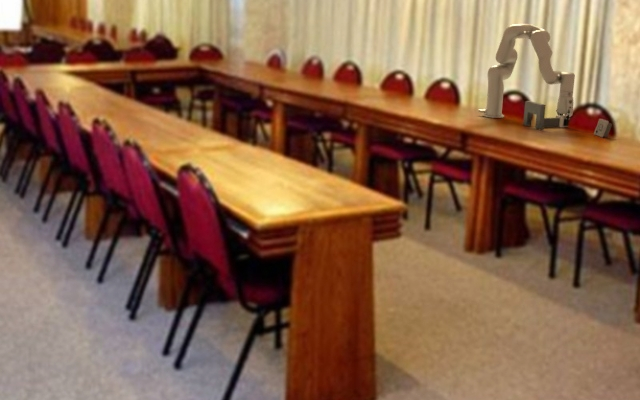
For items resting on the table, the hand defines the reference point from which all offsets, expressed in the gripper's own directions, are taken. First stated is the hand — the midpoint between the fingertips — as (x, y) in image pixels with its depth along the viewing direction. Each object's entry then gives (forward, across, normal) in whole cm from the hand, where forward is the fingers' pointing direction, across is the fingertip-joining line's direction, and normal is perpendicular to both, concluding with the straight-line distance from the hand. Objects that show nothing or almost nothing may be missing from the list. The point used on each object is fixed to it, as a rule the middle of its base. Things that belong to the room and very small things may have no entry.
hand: (562, 124), depth 505 cm
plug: (+1, 0, +8) cm, 8 cm away
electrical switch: (+1, -33, -3) cm, 33 cm away
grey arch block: (+1, 0, +20) cm, 20 cm away
